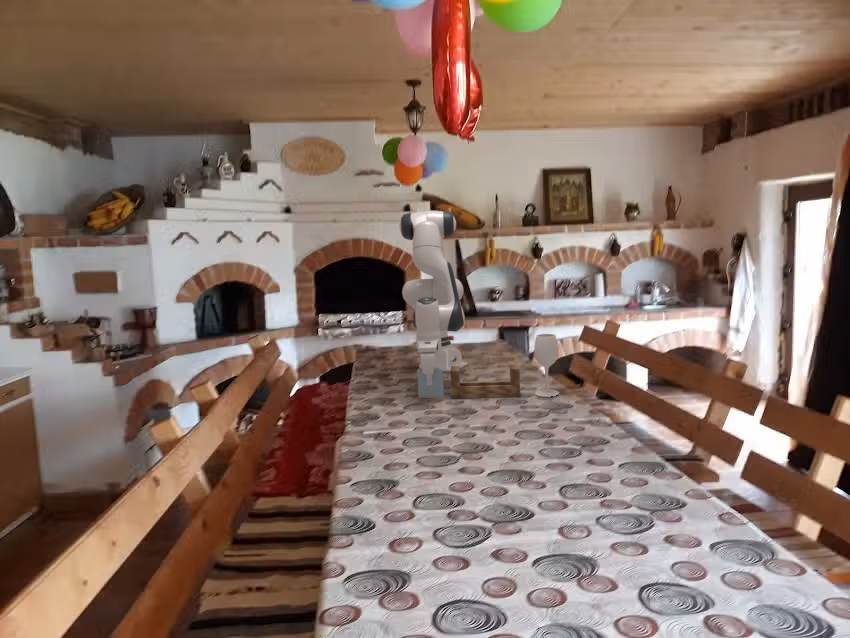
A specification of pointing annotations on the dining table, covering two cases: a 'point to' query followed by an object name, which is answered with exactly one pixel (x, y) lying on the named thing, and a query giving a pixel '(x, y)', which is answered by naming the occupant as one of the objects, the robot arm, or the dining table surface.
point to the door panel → (433, 389)
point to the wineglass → (546, 358)
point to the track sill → (485, 386)
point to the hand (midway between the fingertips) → (430, 381)
